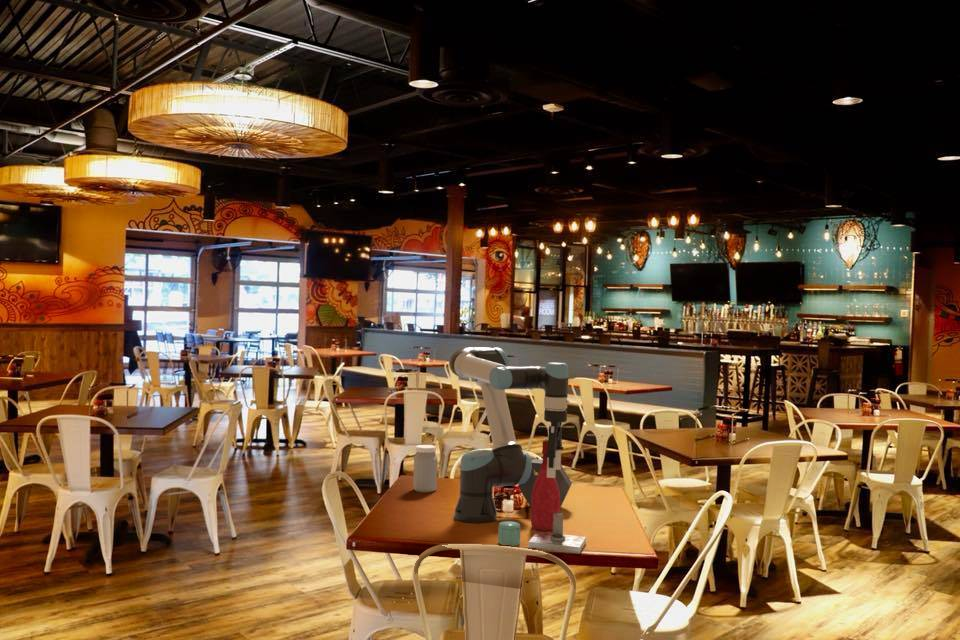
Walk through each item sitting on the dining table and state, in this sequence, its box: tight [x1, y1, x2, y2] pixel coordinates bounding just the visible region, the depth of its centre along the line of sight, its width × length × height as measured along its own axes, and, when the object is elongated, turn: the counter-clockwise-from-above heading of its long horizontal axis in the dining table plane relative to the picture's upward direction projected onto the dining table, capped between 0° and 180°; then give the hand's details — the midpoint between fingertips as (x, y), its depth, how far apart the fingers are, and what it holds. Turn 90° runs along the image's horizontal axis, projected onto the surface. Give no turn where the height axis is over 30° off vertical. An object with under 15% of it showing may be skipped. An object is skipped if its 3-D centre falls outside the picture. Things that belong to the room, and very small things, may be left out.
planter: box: [517, 458, 573, 508], centre depth 298 cm, size 17×8×21 cm
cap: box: [497, 521, 521, 547], centre depth 250 cm, size 7×7×6 cm
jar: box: [412, 444, 438, 493], centre depth 322 cm, size 10×10×18 cm
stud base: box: [528, 512, 587, 554], centre depth 249 cm, size 16×12×10 cm
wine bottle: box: [530, 439, 561, 532], centre depth 269 cm, size 10×10×30 cm
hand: (553, 473), depth 261 cm, fingers open, 13 cm apart
